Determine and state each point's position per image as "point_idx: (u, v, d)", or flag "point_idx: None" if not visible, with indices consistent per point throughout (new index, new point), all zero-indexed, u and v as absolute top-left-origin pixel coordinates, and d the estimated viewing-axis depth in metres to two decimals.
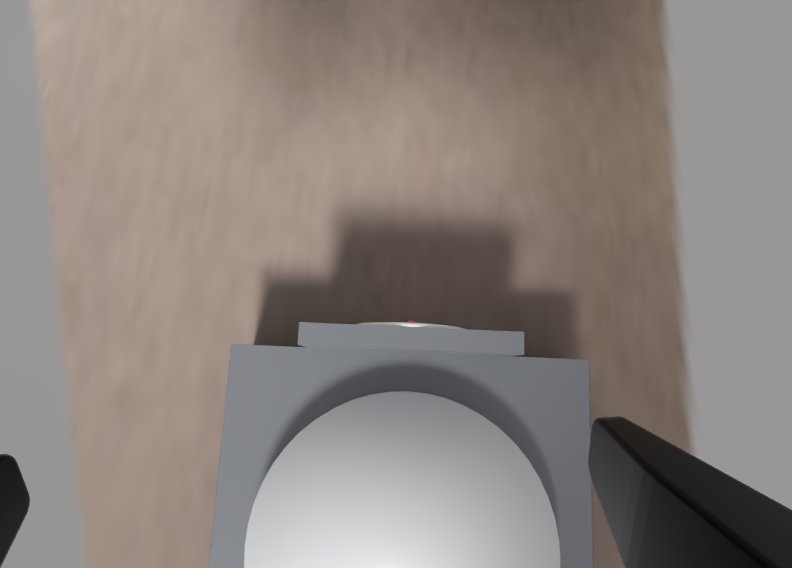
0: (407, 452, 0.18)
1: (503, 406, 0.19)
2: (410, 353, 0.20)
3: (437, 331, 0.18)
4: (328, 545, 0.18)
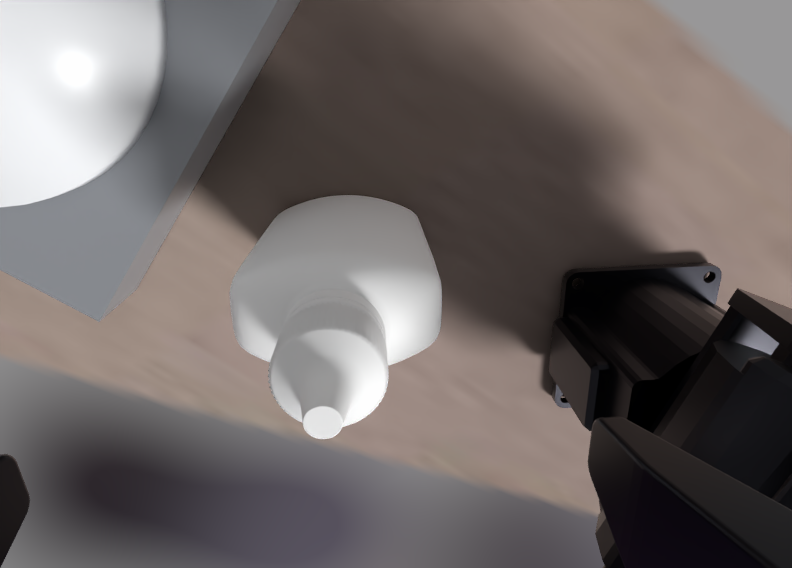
0: None
1: None
2: None
3: None
4: None
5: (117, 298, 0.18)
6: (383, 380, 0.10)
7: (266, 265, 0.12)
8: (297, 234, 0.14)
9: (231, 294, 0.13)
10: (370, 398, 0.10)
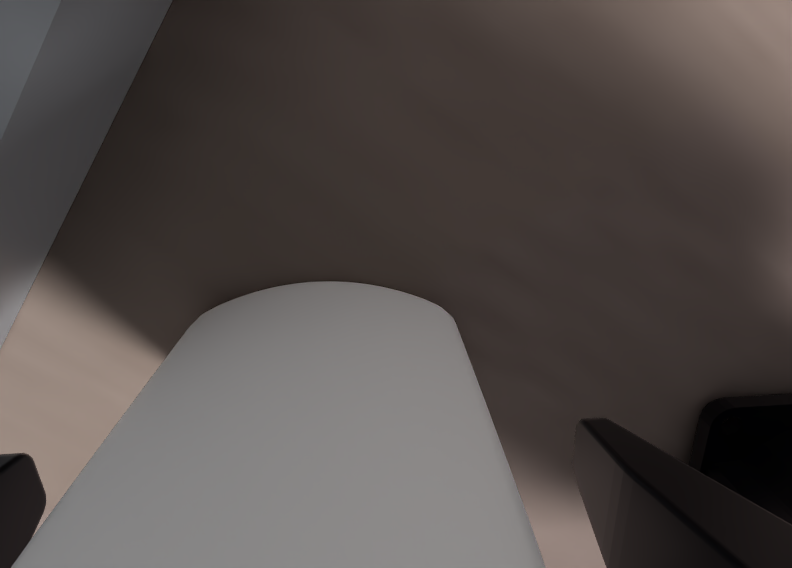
0: None
1: None
2: None
3: None
4: None
5: None
6: None
7: None
8: (181, 454, 0.06)
9: None
10: None
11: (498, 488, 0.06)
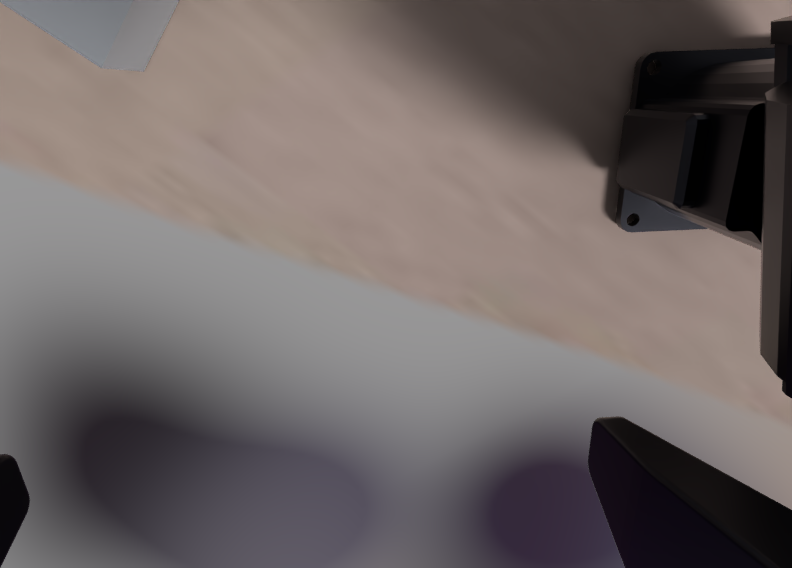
0: None
1: None
2: None
3: None
4: None
5: (122, 48, 0.15)
6: None
7: None
8: None
9: None
10: None
11: None
